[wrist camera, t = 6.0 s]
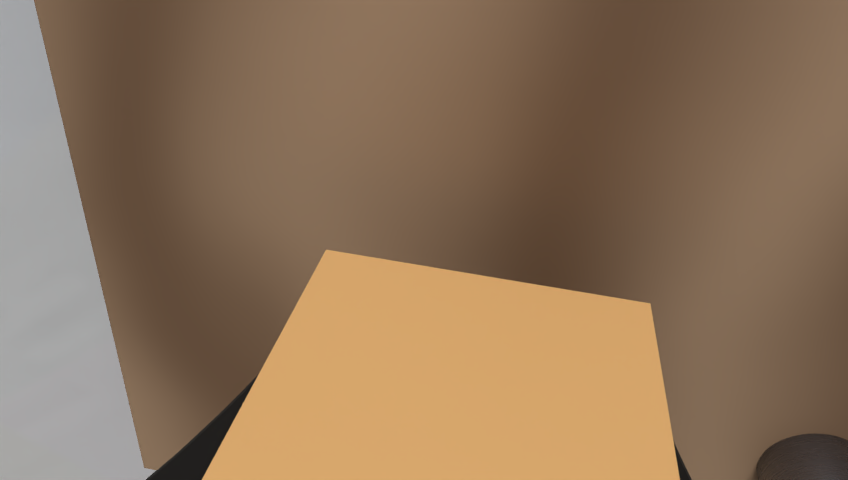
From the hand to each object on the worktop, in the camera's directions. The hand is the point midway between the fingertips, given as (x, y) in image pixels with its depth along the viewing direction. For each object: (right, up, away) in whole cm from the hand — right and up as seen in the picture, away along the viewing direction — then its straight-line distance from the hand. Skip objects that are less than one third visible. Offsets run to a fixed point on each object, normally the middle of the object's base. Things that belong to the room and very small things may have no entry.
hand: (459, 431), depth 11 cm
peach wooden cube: (0, +1, 0) cm, 1 cm away
